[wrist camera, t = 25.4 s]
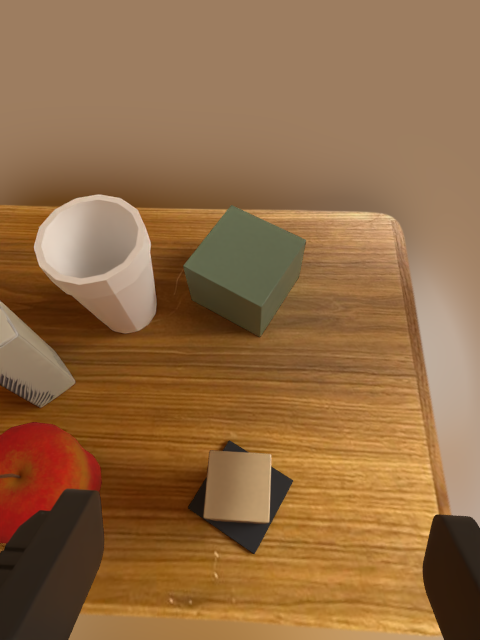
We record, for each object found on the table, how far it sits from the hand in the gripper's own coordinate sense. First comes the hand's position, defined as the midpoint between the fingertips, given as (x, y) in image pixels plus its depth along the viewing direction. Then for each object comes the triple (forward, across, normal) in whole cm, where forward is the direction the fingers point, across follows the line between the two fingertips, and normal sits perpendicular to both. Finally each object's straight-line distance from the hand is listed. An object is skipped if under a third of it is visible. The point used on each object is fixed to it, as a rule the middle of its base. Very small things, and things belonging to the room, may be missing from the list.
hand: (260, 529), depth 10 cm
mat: (+24, +1, +20) cm, 31 cm away
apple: (+23, +17, +20) cm, 35 cm away
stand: (+39, +2, +4) cm, 39 cm away
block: (+23, +1, +20) cm, 30 cm away
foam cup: (+37, +15, +7) cm, 40 cm away
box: (+31, +22, +13) cm, 40 cm away
